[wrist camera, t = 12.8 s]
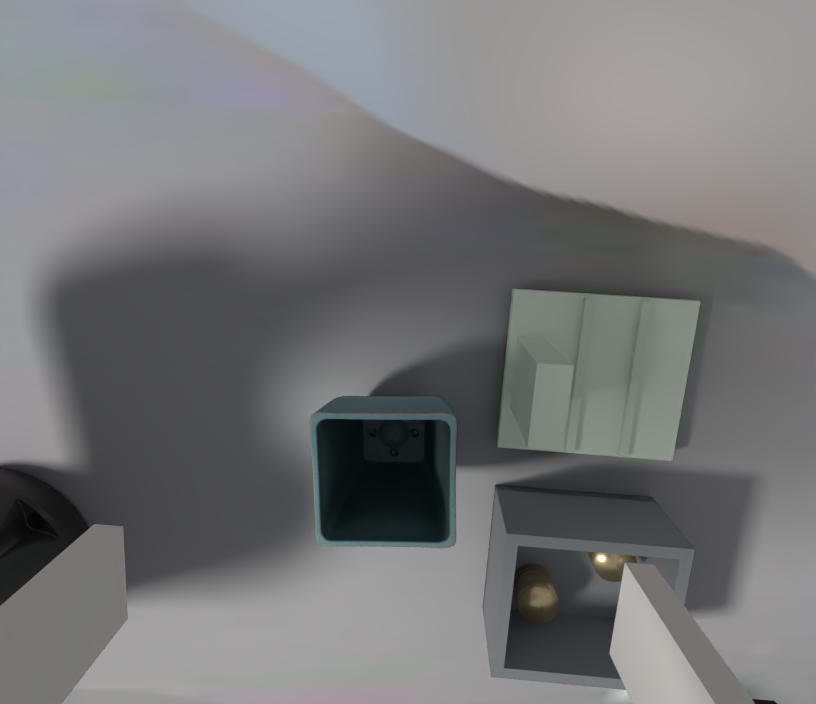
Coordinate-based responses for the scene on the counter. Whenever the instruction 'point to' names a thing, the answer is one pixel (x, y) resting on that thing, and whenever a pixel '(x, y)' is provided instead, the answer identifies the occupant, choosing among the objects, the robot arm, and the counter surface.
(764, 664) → the counter surface
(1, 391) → the counter surface
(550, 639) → the tub
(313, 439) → the flower pot
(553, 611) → the part
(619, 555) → the part
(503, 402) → the lid
